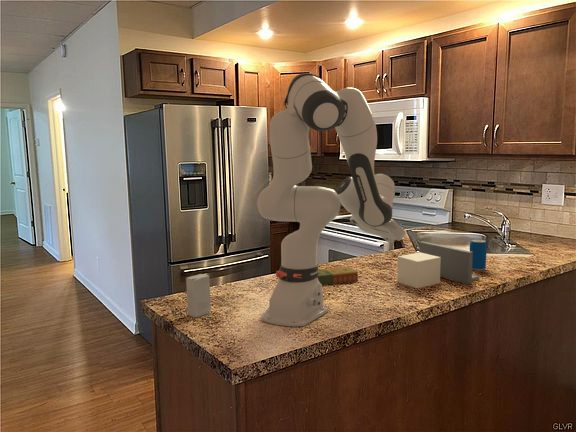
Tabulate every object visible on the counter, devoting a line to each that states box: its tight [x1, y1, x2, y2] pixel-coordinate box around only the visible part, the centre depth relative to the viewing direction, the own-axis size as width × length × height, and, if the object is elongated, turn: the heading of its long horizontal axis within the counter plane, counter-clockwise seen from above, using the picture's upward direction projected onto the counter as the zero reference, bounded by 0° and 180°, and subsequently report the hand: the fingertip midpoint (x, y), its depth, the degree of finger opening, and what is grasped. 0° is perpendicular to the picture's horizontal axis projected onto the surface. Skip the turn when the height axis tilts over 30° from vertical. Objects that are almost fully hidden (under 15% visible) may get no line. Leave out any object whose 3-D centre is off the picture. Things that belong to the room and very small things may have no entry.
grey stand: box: [418, 241, 480, 285], centre depth 183 cm, size 9×24×12 cm, turn 31°
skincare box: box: [185, 273, 212, 318], centre depth 143 cm, size 6×4×12 cm
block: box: [396, 252, 441, 289], centre depth 174 cm, size 12×10×10 cm
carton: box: [317, 266, 359, 286], centre depth 179 cm, size 8×16×4 cm, turn 107°
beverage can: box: [469, 238, 488, 271], centre depth 192 cm, size 6×6×12 cm
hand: (391, 241), depth 163 cm, fingers closed
